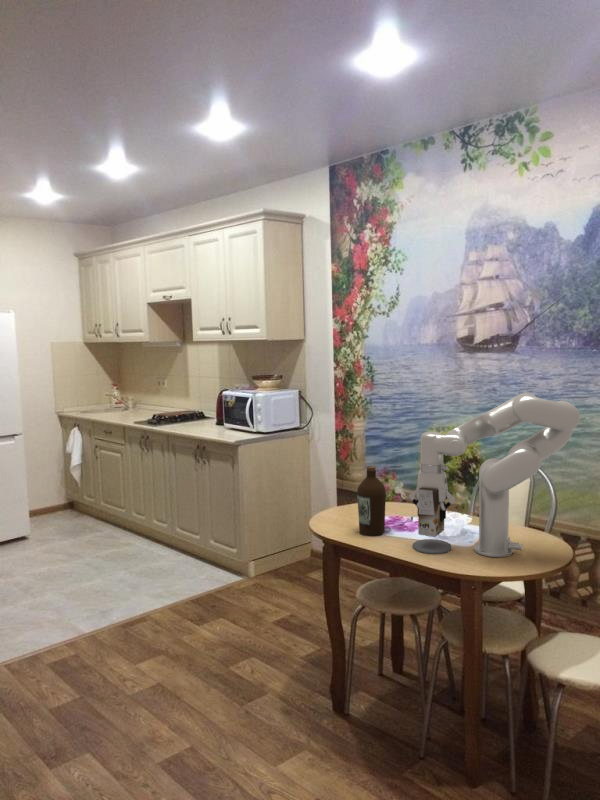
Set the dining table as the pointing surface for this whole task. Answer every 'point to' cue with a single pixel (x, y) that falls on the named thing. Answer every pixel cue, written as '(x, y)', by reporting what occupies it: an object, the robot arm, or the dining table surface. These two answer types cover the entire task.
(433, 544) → the mat
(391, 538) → the dining table surface
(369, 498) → the olive oil
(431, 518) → the coffee box
